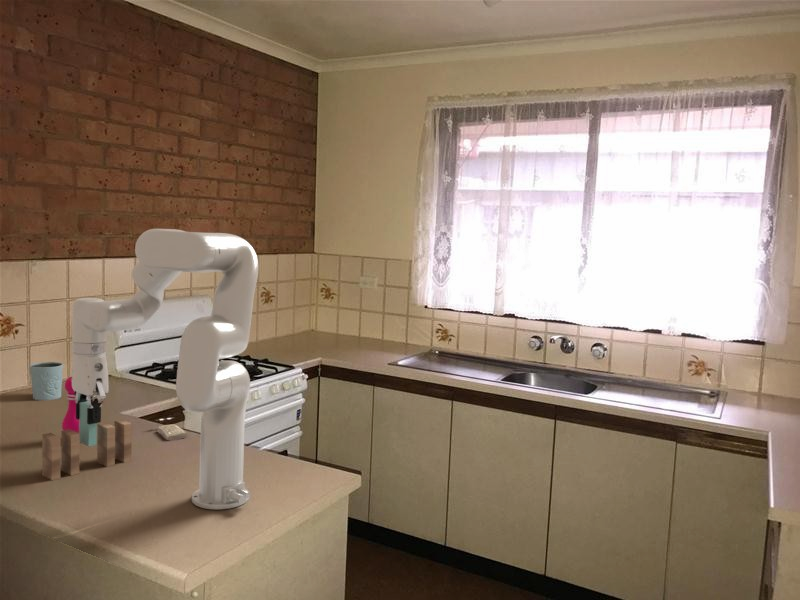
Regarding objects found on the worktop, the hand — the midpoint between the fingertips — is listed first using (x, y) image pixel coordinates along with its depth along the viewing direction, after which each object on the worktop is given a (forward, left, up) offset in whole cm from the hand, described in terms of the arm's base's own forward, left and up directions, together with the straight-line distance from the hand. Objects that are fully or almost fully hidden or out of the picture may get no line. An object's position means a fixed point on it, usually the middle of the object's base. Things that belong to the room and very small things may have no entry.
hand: (88, 419), depth 166 cm
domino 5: (0, -9, -12) cm, 15 cm away
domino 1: (0, +9, -12) cm, 15 cm away
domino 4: (0, -5, -12) cm, 13 cm away
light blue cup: (+74, -22, -12) cm, 78 cm away
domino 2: (0, +4, -12) cm, 13 cm away
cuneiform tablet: (+15, -31, -10) cm, 36 cm away
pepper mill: (+23, -8, -12) cm, 27 cm away
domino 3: (0, 0, -6) cm, 6 cm away
